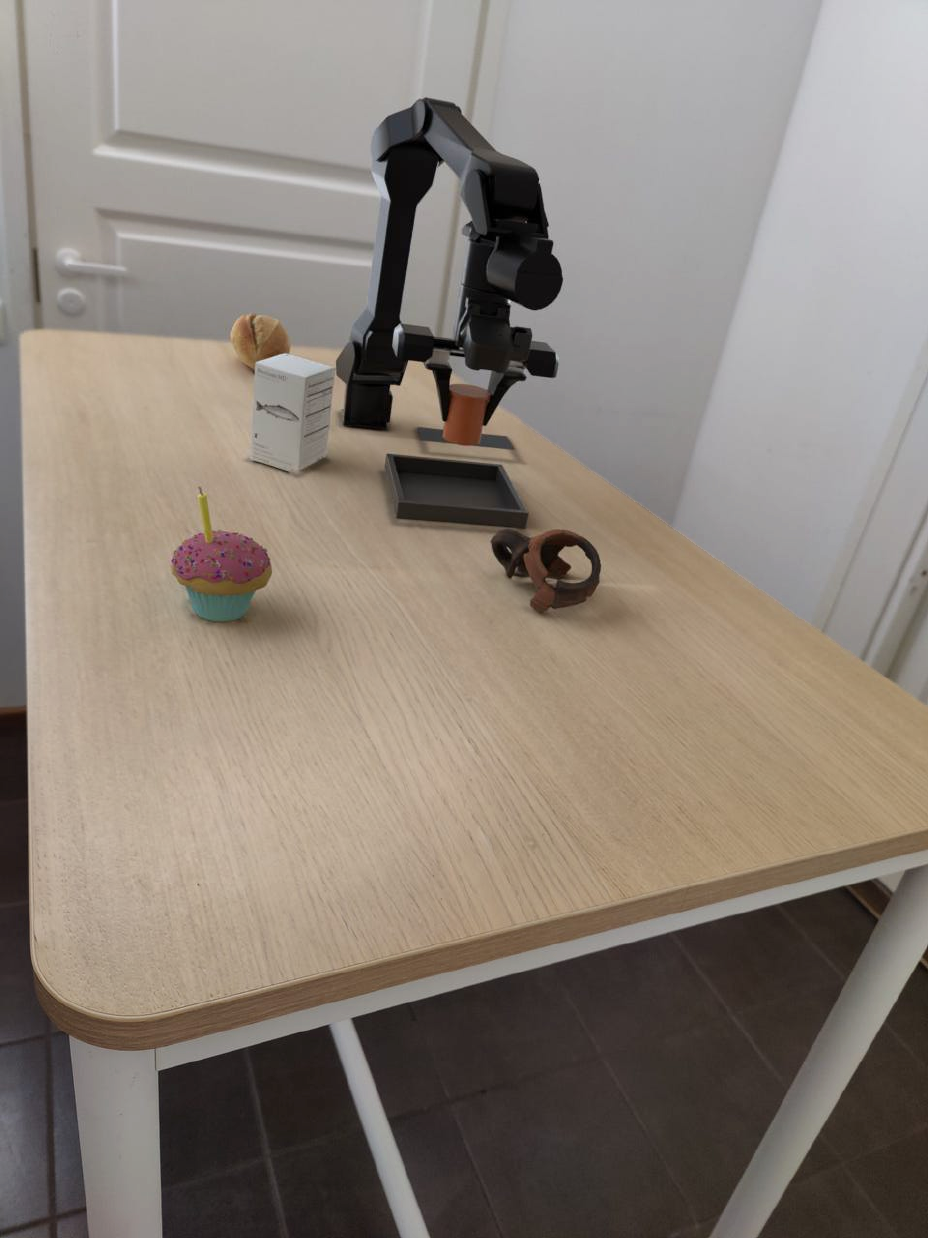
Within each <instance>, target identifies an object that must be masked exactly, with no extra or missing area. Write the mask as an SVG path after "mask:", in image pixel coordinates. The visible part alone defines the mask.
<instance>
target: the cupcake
mask: <svg viewBox="0 0 928 1238" xmlns="http://www.w3.org/2000/svg"><path fill="white" fill-rule="evenodd" d="M197 488H198V490H199V491H198V492H199V494H198V496H197V497H198V503H199V509H200V516H201V522H202V529H203V532H202V533H201V532H199V533H197V534H194V535H193V536H191V537H189V538H187V539H184V541H182V542H181V544H180V545H179V546H177V548H176V549H174V551H173V555H172V559H171V574H172V575H173V576H174V577H175V579H176V581H177V582H178V584H179V585H181V586H184V589H185V590H186V593H187V595H188V598H189V600H190V603H191V607H192V610H193V613H195V614H196V615H197V616H199V617H200V618H202V619H204V620H207V621H212V622H219V623H220V622H221V623H222V622H231V621H235V620H238V619H240V618H242V617H243V616H245V614H246V613H247V612H248V609H249V607H250V605H251V602H252V600H253V598H254V595H255V593H256V591H259V590H260V589H263V588H266V586H267V585H268V584H269V581H270V579H271V577H272V574H273V568H272V562H271V558H270V556H269V555H268V553H267V552H268V551H267V548H265V547H264V546H263V545H262V544H261V545H260V544H259V543H258V542H256V541H255V540H254V539H253V537H248V536H247V535H244V534H243V533H239V532H231V531H227V530H222V529H218V530H213V529H212V528H213V527H212V522H211V516H210V510H209V504H208V496H207V494H206V493H203V489H202V487H201V486H200V485H199V486H197Z"/></svg>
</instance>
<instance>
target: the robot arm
mask: <svg viewBox="0 0 928 1238" xmlns="http://www.w3.org/2000/svg"><path fill="white" fill-rule="evenodd" d="M370 156H371V170H370V171H371V174H372V177H373V179H374V182H375V185H376V188H377V191H378V192H379V197H380V198H379V199H380V200H379V206H378V216H377V222H376V230H375V236H374V237H375V238H374V245H373V253H372V261H371V268H370V276H369V283H368V291H367V299H366V306H365V309H364V310H363V311H362V312H361V314H360V315H359V317H357V319H356V320H355V321H354V322H353V324H352V326H351V329H350V334H349V339H348V341H347V343H346V345H345V346H344V347H343V349H342V350H341V352H340V354H339V355H338V357H337V358H336V360H335V368H336V369H335V376H337V378H339V379H340V380H341V381H342V382H343V383H345V386H344V387H345V388H344V397H343V408H342V409H341V420H342V425H343V426H345V427H355V428H365V429H374V430H383V431H387V430H388V427H389V426H388V424H389V423H390V422H391V418H392V417H391V416H392V408H393V400H394V396H393V392H392V390H391V386H396V387H400V386H401V385H402V383H403V379H404V376H405V373H406V370H407V367H408V363H409V361H410V362H419V363H423V366H424V368H425V369H426V370H428V371H432V375H433V379H434V382H435V387H436V393H437V398H438V404H439V410H440V411H439V412H440V416H441V417H440V418H441V420H442V422H443V423H445V422H446V420H447V415H448V408H449V389H450V385H451V377H452V373H453V368H452V366H451V364H450V362H449V361H450V357H458V358H464V364H465V367H467V368H468V369H470V370H473V371H480V370H483V371H491V372H490V376H489V381H488V387H487V390H488V391H489V392H490V393H491V398H490V399H489V400H488V401H487V406H486V412H485V417H484V423H483V427H487V425H488V424H489V422H490V420H491V419H492V417H493V415H494V413H495V411H496V410H497V408H498V406H499V405H500V402H501V401H502V399H503V398H504V396H505V395H506V394H507V392H508V391H509V389H510V388H511V387H512V386H514V385H515V384H517V383H518V382H526V380H527V378H528V376H526V374H525V370H527V372H528V373H529V375H530V376H531V377H532V376H533V377H540V378H548V379H555V378H557V375H558V369H559V365H560V357H559V355H558V353H557V352H556V351H555V350H554V349H553V348H552V347H551V346H550V345H549V344H548V342H546V341H545V342H544V341H536V340H533V331H532V328H531V327H526V326H525V327H524V326H519V325H515V326H511V322H510V317H511V308H512V305H511V302H513V303H515V304H517V305H519V306H520V307H523V308H525V309H526V310H530V311H541V310H543V309H545V308H548V306H550V305H552V304H553V303H554V302H555V300H556V299H557V298H558V296H559V294H560V292H561V290H562V286H563V283H564V277H563V270H562V269H563V268H562V266H561V263H560V261H559V259H558V258H557V257H556V256H555V255H554V254H553V248H554V244H555V243H554V240H552V239H549V238H550V236H549V230H548V228H549V227H550V224H549V220H548V217H547V213H546V211H545V203H544V198H543V192H542V186H541V183H540V182H541V180H540V176H539V173H538V172H537V170H536V169H535V168H534V167H533V166H532V165H529V164H528V163H526V162H524V161H522V160H521V159H518V158H514V157H512V156H509V155H507V154H503V153H501V152H500V151H498V150H496V149H495V147H493V145H492V144H491V143H490V142H489V141H488V140H487V139H486V138H485V137H484V136H483V135H482V134H481V132H480V131H478V130H477V128H475V126H474V125H473V124H472V123H471V122H470V121H469V120H468V119H467V118H466V117H465V115H463V113H462V109H461V108H460V106H459V105H456V103H455V102H452V101H447V100H443V99H437V98H432V97H427V96H425V97H423V98H418V99H417V100H416V101H415V102H414V103H412V105H411V106H410V107H407V108H405V109H402V110H400V111H397V112H394V113H391V114H389V115H387V116H386V117H385V118H384V119H383V121H381V123H380V124H379V125H377V127H376V128H375V130H374V131H373V132H372V135H371V139H370ZM444 163H445V164H446V165H447V166H448V167H449V168H450V170H451V171H452V172H453V173H454V175H455V176H456V177H457V178H458V179H459V180H460V183H461V187H460V189H459V197H460V199H461V201H462V203H463V204H464V206H465V208H466V210H467V212H468V214H469V216H470V218H471V220H470V221H469V222H467V223H466V224H464V225H463V226H462V228H461V231H460V232H461V234H462V235H463V236H466V237H468V239H467V244H466V250H465V257H464V264H463V270H462V277H461V283H460V289H459V293H458V302H457V308H456V314H455V321H454V325H453V333H452V338H450V337H443V336H435V335H434V334H433V331H432V330H431V328H430V327H429V326H423V325H416V324H410V323H403V321H402V318H401V316H402V315H401V314H402V308H403V302H404V301H403V300H404V296H405V295H404V294H405V290H406V289H405V288H406V281H407V276H408V268H409V262H410V256H411V251H412V250H411V249H412V244H413V243H412V242H413V236H414V229H415V223H416V217H417V211H418V206H419V204H420V203H421V202H422V201H423V199H424V198H425V196H426V195H427V194H428V193H429V191H430V190H431V189H432V188H433V186H434V185H435V180H436V175H437V171H438V168H439V167H441V165H443V164H444Z"/></svg>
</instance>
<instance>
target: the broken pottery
mask: <svg viewBox="0 0 928 1238" xmlns="http://www.w3.org/2000/svg"><path fill="white" fill-rule="evenodd" d="M490 545H491V550H492V553H493V555H494V557H495V559H496V560H497V561H498V563H499V564H500V565H502V567H503V568H504V571H505V575H506V576H507V579H512V578H513V576H514V574H515V573H516V571H518V572H523V571H527V573H528V575H529V578H530V580H531V582H532V584H533V585H534V587H535V588H536V589H537V591H536V593H535V595H534V596H533V597H532V598H531V599H530V601H529V606H530V607H531V608H532V609H533V610H535V611H536V612H537V613H538V614H543V613H544V612H547V611H548V610H549V609H550V608H551V609H552V610H558V609H564V608H569V607H574V606H577V605H579V604H582V603H585V602H586V601H587V597H588V598H590V597H592V596H593V594H595V591H596V590H597V588H598V586H599V584H600V582H601V581H600V579H601V575H600V574H601V571H602V563H601V558H600V554H599V552H598V550H597V548H595V546H594V545H593V544H592V543H591V542H590V541H589V540H588V539H587V538H586V537H584V536H583V535H580V534H579V533H576V532H574V531H571V530H567V529H559V528H557V529H550V530H547V531H545V532H543V533H541V534H538V535H535V536H531V537H529V536H527V535H525V534H523V533H521V532H520V531H519V530H515V529H513V528H503V529H502V528H501V529H499V530H498V531H497V532H496V533H495V534H494V535H493V536H492V537H491V539H490ZM576 546H577V547H578V548H579V549H581V550H582V551H583V553H584V556H585V557H586V559H588V560H589V561H590V564H591V572H590V575H589V576H588V577H587V578H586V579H584V580H581V581H579V582H567V581H563V578H560V579H557V580H556V583H555V586H553V585H552V584H550V583H549V582H548V581H547V580H546V579H547V577H548V576H549V575H550V573H549V571H552V572H556V573H559V574H561V575H567V574H568V572H569V571H570V570H571V569H572V565H571V564H570V563H568V562H567V561H566V560H564V559H563V558H562V557H561V556H559V554H560V553H561V551H562V550H564V549H565V547H566V548H573V547H576ZM548 570H549V571H548ZM517 576H518V577H519V575H517Z"/></svg>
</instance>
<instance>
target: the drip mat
mask: <svg viewBox="0 0 928 1238" xmlns="http://www.w3.org/2000/svg"><path fill="white" fill-rule="evenodd" d="M416 429H417V433H418V436H419V438H420V441H421V442H431V443H441V444H452V445H455V444H454V443H451V442H449V441H447V440H445V439H444V438H443V430H444V429H440V428H431V427H420V426H417V428H416ZM473 447H480V448H490V449H499V450H508V451H509V450H511V451H515V448H514V445H513V444H512V443H511V441H510V439H509V437H508V436H506V435H499V434H488V433H482V434H481V440H480V443H479V444H478V445H474V446H473Z"/></svg>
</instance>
